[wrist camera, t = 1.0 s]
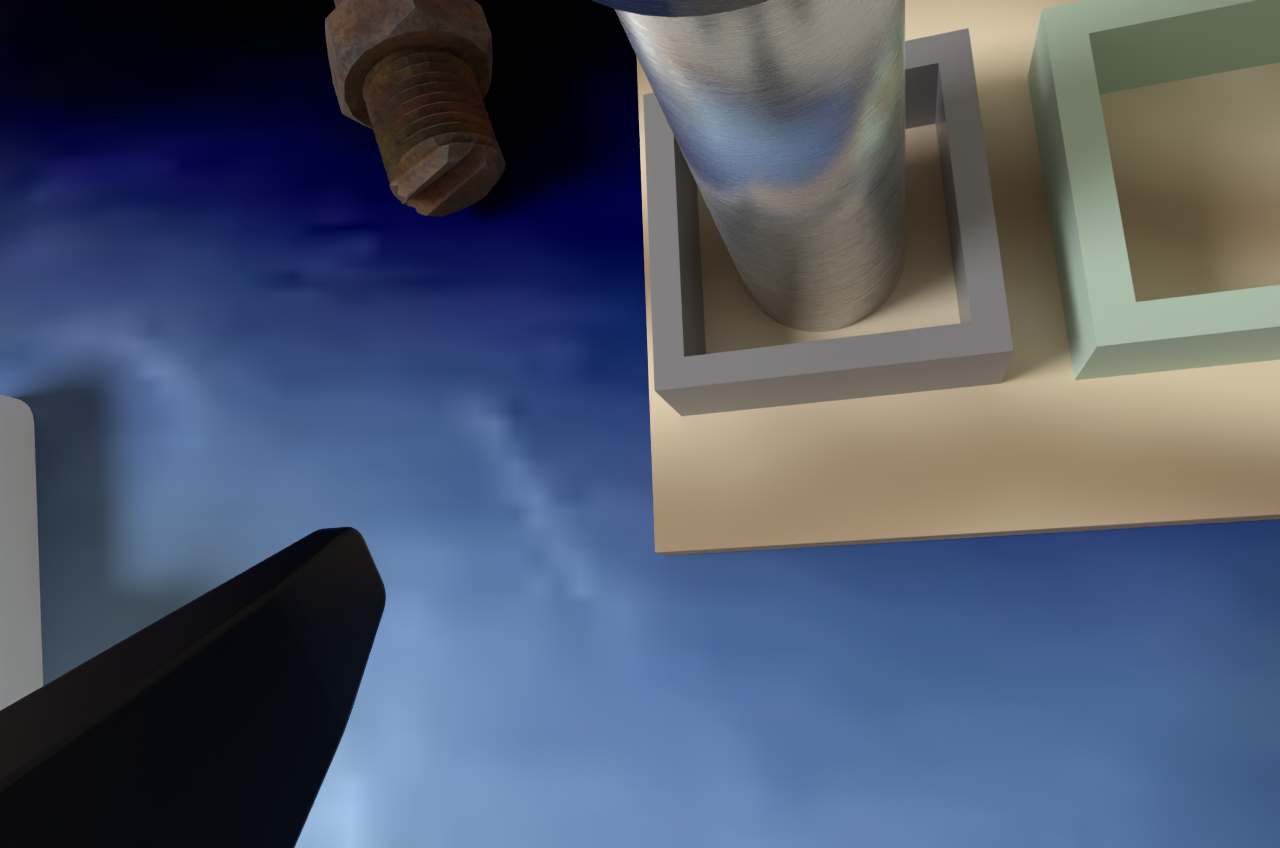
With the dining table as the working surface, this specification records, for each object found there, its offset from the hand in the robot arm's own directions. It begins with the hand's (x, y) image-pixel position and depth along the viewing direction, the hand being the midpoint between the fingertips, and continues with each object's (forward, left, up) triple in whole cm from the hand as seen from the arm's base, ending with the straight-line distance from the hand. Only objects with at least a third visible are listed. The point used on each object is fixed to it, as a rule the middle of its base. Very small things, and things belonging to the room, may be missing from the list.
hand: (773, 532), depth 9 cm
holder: (+8, 0, -13) cm, 15 cm away
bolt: (+18, +12, -14) cm, 26 cm away
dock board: (+8, -5, -13) cm, 16 cm away
